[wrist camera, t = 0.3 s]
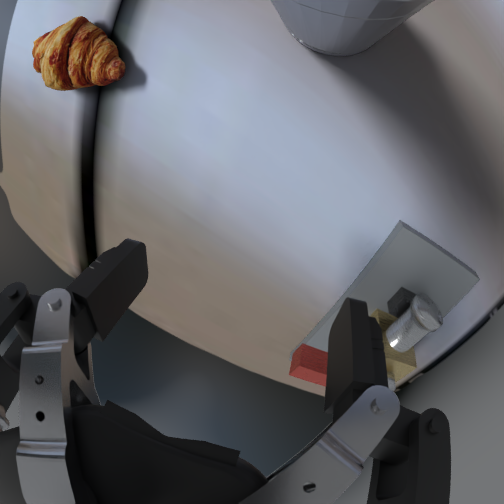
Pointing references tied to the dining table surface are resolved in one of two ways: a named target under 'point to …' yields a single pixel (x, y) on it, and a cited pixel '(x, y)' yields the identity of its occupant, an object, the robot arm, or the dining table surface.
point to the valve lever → (317, 366)
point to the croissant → (77, 56)
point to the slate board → (402, 279)
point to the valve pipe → (406, 328)
